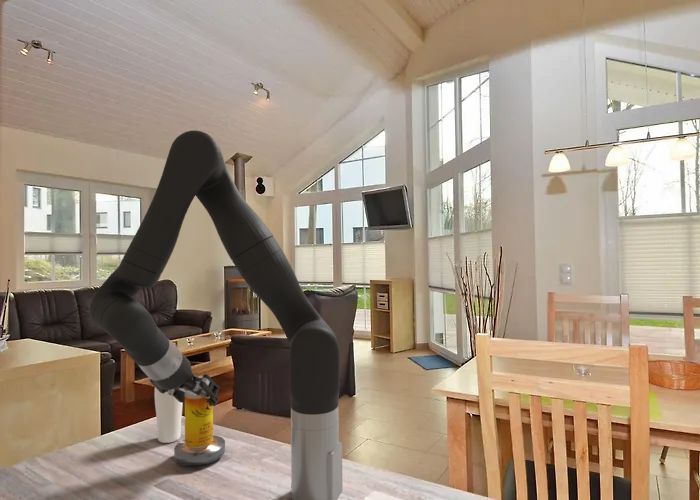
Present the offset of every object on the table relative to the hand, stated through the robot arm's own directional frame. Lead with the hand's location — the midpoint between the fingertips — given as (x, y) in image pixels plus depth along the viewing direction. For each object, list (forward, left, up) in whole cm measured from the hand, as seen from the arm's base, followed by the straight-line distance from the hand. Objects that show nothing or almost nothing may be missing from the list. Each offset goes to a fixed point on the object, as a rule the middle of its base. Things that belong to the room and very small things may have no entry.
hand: (199, 400), depth 99 cm
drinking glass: (+14, -7, -14) cm, 20 cm away
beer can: (0, 0, -10) cm, 10 cm away
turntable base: (0, 0, -13) cm, 13 cm away
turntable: (0, 0, -13) cm, 13 cm away
